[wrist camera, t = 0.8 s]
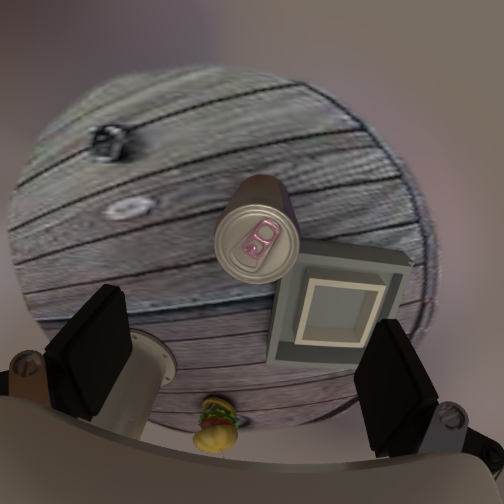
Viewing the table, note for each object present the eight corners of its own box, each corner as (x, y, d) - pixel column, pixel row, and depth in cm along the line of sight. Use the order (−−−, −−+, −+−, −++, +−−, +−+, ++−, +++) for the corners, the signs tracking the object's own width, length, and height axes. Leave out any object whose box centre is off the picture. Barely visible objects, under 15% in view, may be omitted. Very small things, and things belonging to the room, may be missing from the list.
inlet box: (368, 347, 39) (377, 369, 35) (266, 340, 40) (265, 364, 35) (402, 251, 33) (419, 267, 29) (283, 235, 34) (285, 251, 29)
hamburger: (206, 386, 45) (192, 443, 34) (246, 397, 45) (240, 454, 34) (198, 409, 48) (186, 460, 37) (235, 418, 48) (228, 470, 37)
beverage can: (299, 194, 32) (321, 237, 18) (268, 234, 34) (265, 302, 20) (256, 163, 31) (245, 181, 17) (226, 205, 33) (194, 255, 19)
